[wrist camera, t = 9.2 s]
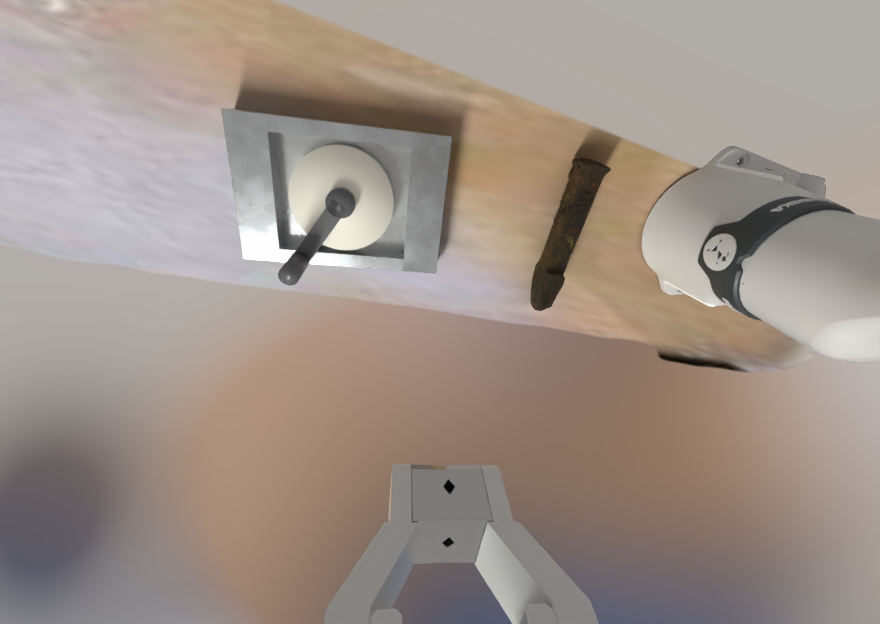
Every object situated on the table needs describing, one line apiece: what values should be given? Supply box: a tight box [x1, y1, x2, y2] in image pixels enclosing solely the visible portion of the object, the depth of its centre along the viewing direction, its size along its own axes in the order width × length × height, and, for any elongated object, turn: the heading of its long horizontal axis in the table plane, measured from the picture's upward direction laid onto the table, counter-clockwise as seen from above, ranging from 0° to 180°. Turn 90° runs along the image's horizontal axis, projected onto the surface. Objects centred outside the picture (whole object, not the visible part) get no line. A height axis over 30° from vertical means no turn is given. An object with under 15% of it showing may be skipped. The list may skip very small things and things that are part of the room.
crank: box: [278, 144, 394, 285], centre depth 38 cm, size 11×14×8 cm
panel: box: [221, 109, 452, 273], centre depth 41 cm, size 22×16×3 cm
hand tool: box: [530, 158, 611, 311], centre depth 45 cm, size 19×4×5 cm, turn 165°
